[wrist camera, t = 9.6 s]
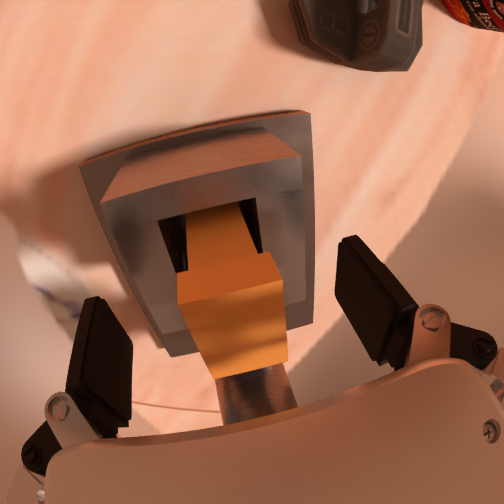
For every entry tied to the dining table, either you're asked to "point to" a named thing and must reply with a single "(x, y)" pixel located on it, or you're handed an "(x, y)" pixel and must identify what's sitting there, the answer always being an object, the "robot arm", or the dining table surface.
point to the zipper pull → (361, 31)
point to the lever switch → (205, 196)
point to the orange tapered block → (231, 294)
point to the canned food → (478, 13)
